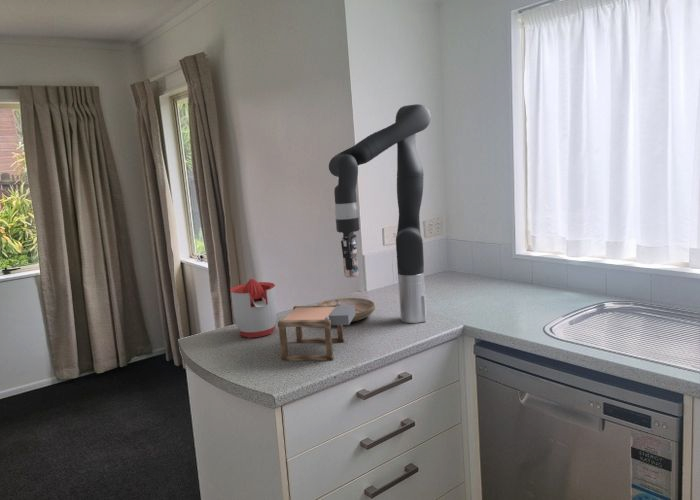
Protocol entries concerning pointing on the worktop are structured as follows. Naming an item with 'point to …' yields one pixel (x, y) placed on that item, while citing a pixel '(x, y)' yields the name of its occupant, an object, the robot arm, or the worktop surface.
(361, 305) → the ceramic bowl
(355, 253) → the beer can
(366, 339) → the worktop surface
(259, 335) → the citrus juicer
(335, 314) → the trapdoor
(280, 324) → the frame
